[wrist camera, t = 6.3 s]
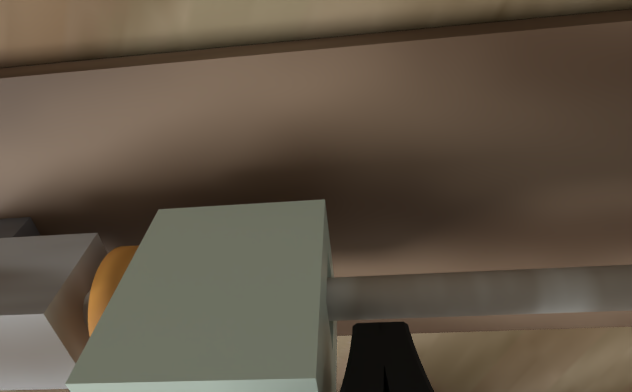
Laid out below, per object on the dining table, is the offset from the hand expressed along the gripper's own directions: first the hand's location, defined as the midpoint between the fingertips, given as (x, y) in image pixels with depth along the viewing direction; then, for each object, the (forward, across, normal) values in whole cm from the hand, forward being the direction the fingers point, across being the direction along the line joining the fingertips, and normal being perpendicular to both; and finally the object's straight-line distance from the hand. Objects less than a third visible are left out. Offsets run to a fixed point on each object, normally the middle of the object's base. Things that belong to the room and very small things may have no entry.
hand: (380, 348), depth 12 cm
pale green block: (+4, +4, 0) cm, 5 cm away
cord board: (+6, 0, 0) cm, 6 cm away
